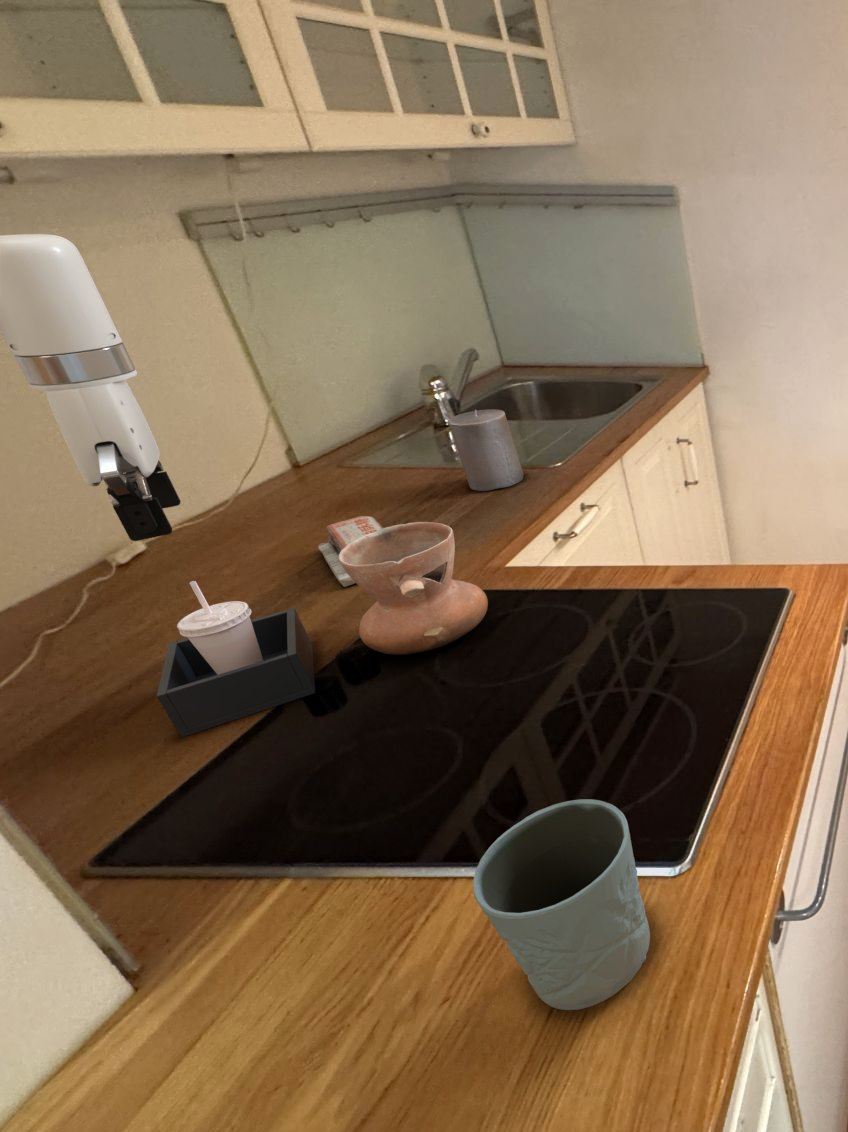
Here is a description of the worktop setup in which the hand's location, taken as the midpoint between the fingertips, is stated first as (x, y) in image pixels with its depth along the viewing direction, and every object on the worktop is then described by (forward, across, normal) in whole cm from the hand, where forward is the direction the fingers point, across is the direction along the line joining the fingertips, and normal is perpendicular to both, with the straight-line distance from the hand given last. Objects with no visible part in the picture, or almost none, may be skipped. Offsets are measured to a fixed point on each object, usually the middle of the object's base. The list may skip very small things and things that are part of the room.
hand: (158, 521), depth 84 cm
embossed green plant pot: (+22, +65, +23) cm, 73 cm away
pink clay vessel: (+22, +1, +20) cm, 30 cm away
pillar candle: (+22, -55, +38) cm, 70 cm away
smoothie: (+22, 0, +1) cm, 22 cm away
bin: (+23, 0, +1) cm, 23 cm away
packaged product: (+23, -32, +15) cm, 42 cm away
